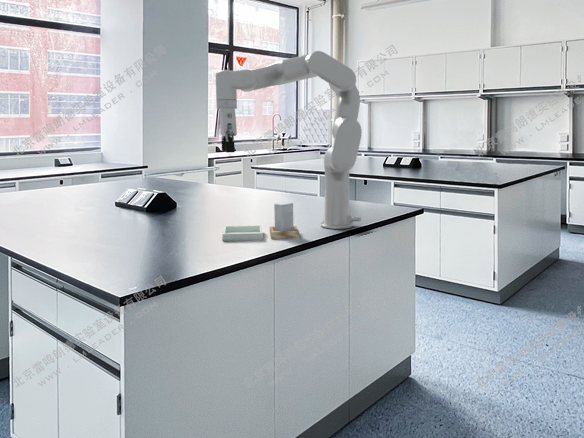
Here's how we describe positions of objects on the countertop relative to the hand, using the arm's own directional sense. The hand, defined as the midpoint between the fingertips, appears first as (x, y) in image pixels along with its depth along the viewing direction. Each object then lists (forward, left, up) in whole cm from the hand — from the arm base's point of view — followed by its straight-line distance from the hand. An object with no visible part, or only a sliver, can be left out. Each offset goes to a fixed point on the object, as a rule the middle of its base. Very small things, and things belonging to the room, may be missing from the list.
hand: (228, 151), depth 199 cm
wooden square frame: (-20, +13, -30) cm, 38 cm away
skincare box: (-20, +13, -30) cm, 38 cm away
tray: (-5, +13, -30) cm, 33 cm away
